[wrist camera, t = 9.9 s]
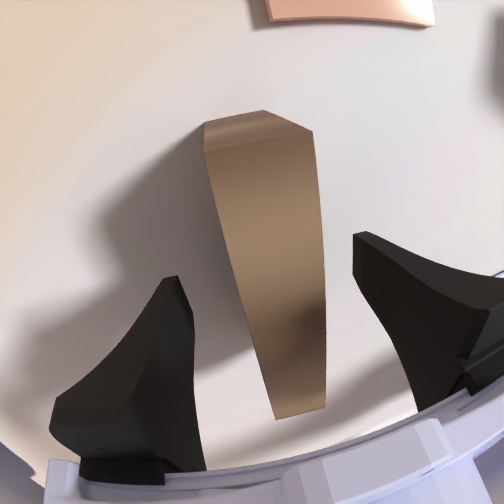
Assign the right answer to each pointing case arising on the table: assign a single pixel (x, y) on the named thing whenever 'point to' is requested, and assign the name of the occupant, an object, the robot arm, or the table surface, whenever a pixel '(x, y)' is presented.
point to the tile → (353, 10)
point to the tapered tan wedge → (274, 248)
